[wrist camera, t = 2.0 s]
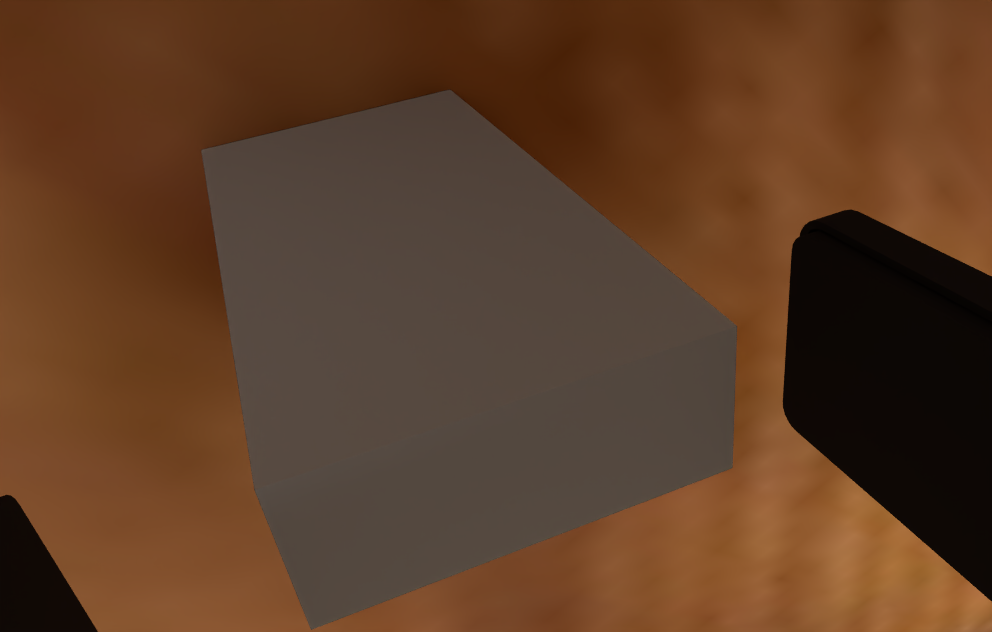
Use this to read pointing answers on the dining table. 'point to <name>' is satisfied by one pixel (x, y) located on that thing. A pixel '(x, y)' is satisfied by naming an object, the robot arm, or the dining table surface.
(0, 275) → the dining table surface
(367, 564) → the tile
